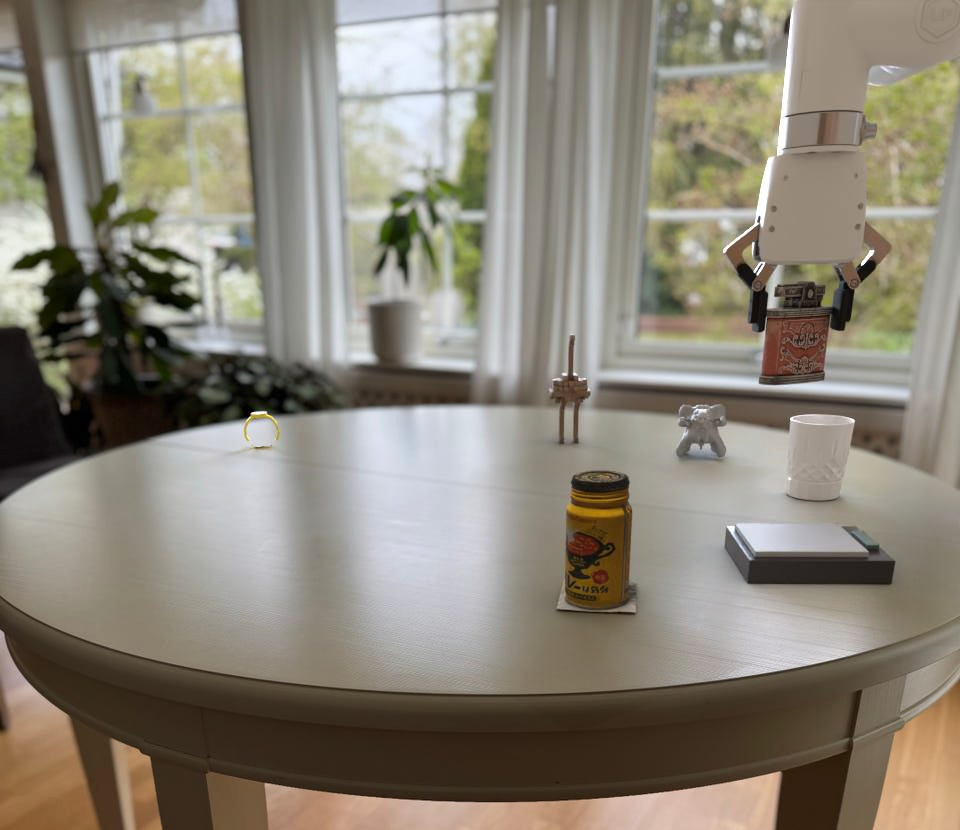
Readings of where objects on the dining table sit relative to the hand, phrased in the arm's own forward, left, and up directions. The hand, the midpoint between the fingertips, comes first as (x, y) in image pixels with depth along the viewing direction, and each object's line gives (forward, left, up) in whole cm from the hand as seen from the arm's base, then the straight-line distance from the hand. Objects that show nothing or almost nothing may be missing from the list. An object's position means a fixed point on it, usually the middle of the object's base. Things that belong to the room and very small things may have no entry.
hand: (797, 329), depth 93 cm
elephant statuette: (+1, -46, -23) cm, 52 cm away
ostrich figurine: (+22, -61, -23) cm, 69 cm away
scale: (-1, +10, -23) cm, 25 cm away
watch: (+75, -53, -23) cm, 95 cm away
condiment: (+21, +20, -23) cm, 37 cm away
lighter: (0, 0, -6) cm, 6 cm away
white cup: (-10, -19, -23) cm, 31 cm away
